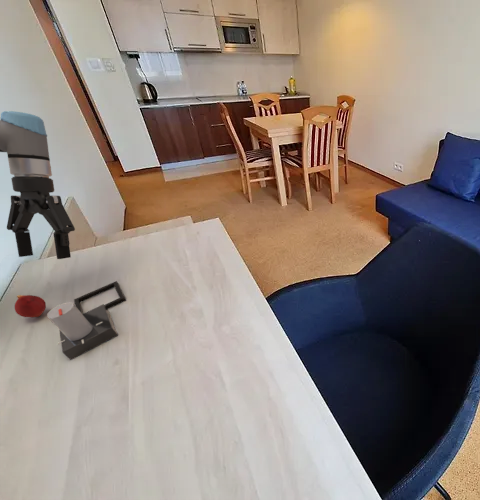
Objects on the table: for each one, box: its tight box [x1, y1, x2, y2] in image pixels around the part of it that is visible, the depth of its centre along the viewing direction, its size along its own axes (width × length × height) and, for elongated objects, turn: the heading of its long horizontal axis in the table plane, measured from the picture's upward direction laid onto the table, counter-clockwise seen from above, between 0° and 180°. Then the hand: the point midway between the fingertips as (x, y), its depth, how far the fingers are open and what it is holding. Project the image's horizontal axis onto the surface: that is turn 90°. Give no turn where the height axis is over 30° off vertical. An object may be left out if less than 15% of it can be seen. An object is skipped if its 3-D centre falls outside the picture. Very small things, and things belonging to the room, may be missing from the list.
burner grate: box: [73, 280, 127, 314], centre depth 88 cm, size 11×11×1 cm
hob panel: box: [56, 304, 119, 361], centre depth 77 cm, size 13×11×3 cm
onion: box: [14, 294, 47, 318], centre depth 83 cm, size 6×6×8 cm
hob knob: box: [46, 301, 93, 341], centre depth 72 cm, size 5×5×8 cm
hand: (44, 257), depth 82 cm, fingers open, 13 cm apart
